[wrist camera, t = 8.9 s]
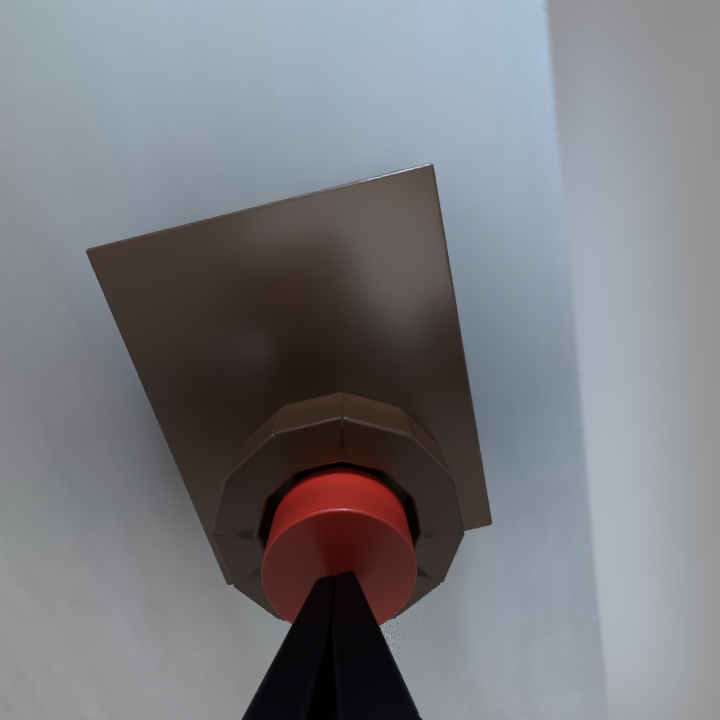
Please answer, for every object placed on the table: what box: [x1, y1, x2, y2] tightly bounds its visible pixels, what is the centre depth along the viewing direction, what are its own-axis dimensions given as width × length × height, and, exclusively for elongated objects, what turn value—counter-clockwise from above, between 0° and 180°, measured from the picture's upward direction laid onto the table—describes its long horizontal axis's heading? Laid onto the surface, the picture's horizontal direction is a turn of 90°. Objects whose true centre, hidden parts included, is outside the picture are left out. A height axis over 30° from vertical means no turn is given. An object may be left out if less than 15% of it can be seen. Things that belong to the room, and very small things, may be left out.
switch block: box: [86, 163, 492, 621], centre depth 11 cm, size 12×9×4 cm
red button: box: [261, 467, 417, 625], centre depth 9 cm, size 4×4×2 cm
